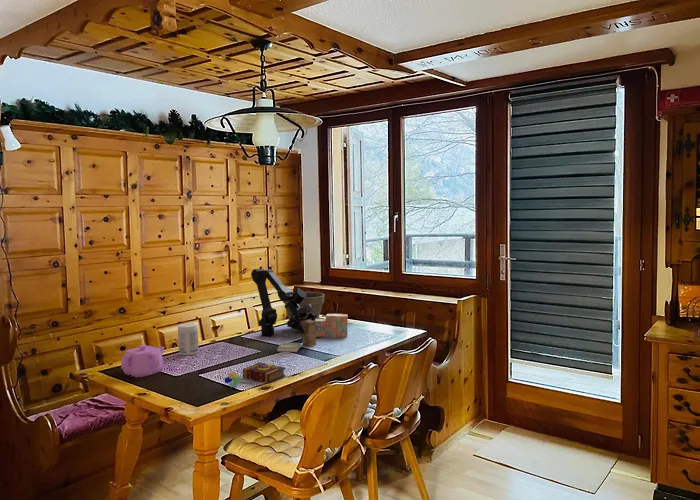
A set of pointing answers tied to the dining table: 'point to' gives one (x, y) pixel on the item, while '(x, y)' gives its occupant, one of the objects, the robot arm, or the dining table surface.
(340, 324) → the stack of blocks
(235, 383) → the dice
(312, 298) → the plant pot
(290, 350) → the cream square tray
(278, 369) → the decorative book
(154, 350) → the teakettle
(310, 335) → the walnut post
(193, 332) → the supplement tub
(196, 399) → the dining table surface
